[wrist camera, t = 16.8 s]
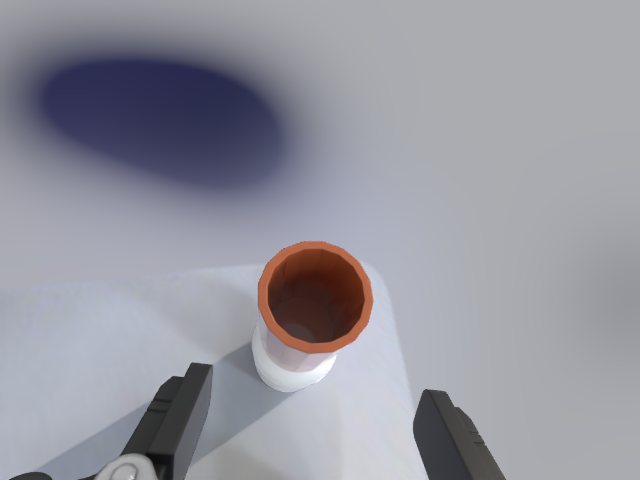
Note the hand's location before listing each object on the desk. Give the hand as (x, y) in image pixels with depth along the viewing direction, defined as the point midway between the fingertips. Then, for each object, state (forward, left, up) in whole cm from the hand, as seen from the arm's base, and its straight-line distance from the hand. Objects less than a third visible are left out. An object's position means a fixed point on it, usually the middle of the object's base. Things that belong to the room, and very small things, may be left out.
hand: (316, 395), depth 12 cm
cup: (-3, +4, -13) cm, 14 cm away
